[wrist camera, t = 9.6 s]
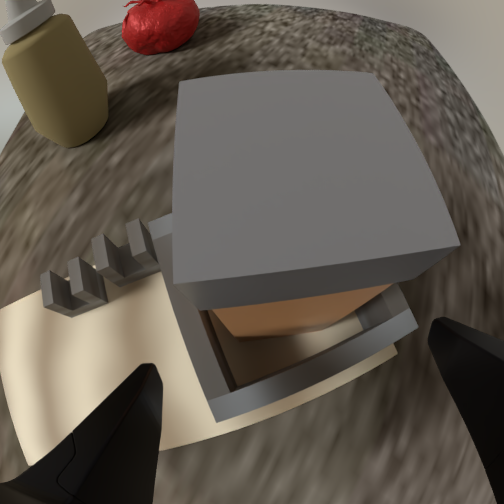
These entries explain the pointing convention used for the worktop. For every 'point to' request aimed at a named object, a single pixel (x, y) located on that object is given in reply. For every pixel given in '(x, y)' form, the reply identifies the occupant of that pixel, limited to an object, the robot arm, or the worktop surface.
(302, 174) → the plug
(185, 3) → the pomegranate
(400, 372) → the worktop surface
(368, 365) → the board
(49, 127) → the squeeze bottle
